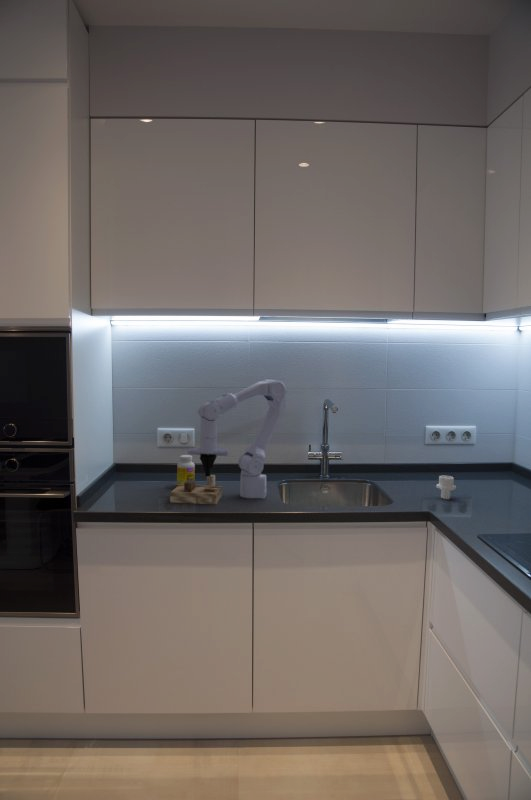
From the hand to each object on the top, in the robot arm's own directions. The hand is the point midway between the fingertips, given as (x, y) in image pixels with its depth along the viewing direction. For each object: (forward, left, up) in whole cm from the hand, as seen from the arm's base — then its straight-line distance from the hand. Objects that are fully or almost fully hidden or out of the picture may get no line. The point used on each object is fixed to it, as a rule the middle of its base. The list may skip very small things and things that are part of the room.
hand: (208, 475), depth 191 cm
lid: (+4, 0, -6) cm, 7 cm away
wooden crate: (+4, 0, -9) cm, 10 cm away
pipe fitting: (-86, -21, -10) cm, 89 cm away
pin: (+1, -11, -9) cm, 14 cm away
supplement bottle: (+12, -17, -10) cm, 23 cm away
